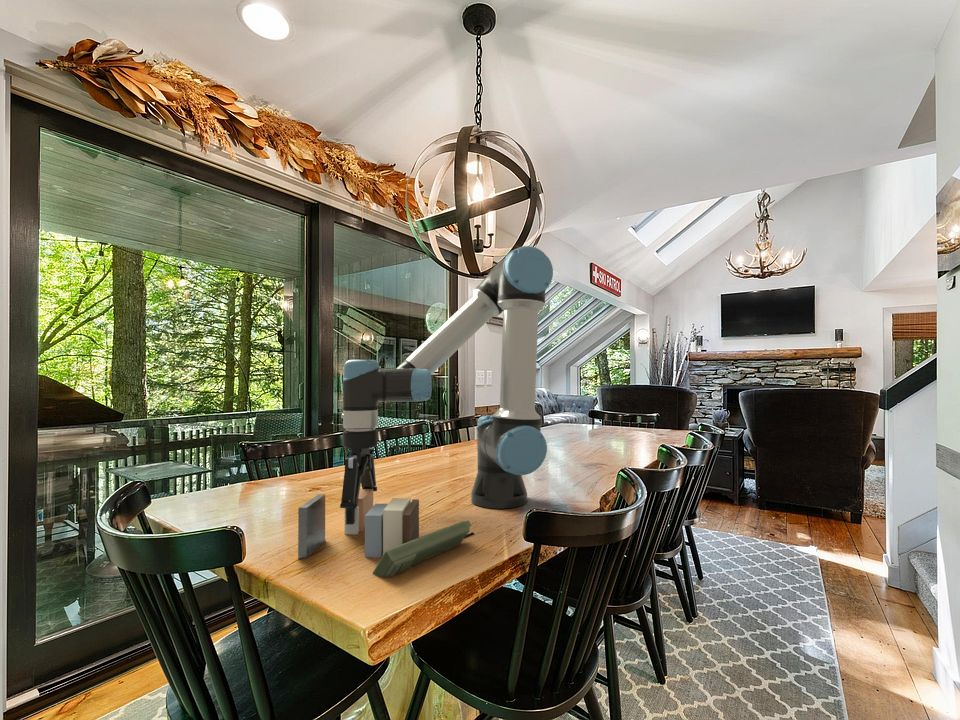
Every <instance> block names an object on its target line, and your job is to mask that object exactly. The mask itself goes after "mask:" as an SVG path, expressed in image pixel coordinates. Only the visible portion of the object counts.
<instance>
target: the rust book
mask: <svg viewBox="0 0 960 720" xmlns="http://www.w3.org/2000/svg"><path fill="white" fill-rule="evenodd" d="M349 501H350V500H349ZM373 506H374V491H373V489H362V488H360V491H359V497H358V503H357V507H359V532H360V531H362V532H363V531H365V515H366V514H367V513H368V512H369V510H370V509H371V508H372V507H373Z"/></svg>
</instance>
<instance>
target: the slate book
mask: <svg viewBox="0 0 960 720" xmlns="http://www.w3.org/2000/svg"><path fill="white" fill-rule="evenodd" d="M388 504H389V503H375V504H373V507H372V508H371V509H370V510H369V512H368V513H367V514H366V515H365V529H364V558H382V556H383V510H384V509H385V508H386V506H387V505H388Z"/></svg>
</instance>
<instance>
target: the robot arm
mask: <svg viewBox="0 0 960 720" xmlns="http://www.w3.org/2000/svg"><path fill="white" fill-rule="evenodd" d="M553 277H554V268H553V264H552V261H551V260H550V258H549V257H548V256H547V255H546V253H545V252H544V251H542V250H541V249H540V248H538V247H535V246H530V245H525V246H523V245H522V246H520V247H516V248H515V249H512V250H510V251H509V252H508V253H507V254H506V256H505V257H503V258H502V259H501V260H500V261H498V262H497V264H495V265H494V266H493V268H492V269H491V270H490V271H489V273H488V274H487V275H486V277H485V278H484V279H483V280H482V281H481V282H480V284H478V285H477V286H476V287H475V288H474V289H473V291H472V297H470V298H469V299H468V300H467V301H466V302H465V303H464V304H462V306H460V308H459V309H458V310H456V311H455V312H454V314H452V315H451V316H450V317H449V318H448V319H447V320H446V321H445V322H444V323H442V325H441V326H440V327H438V328H437V329H436V330H435V331H434V332H433V333H432V334H431V335H430V336H429V337H428V338H426V340H425V341H424V342H423V343H422V344H420V345H419V346H418V347H417V348H416V349H415V350H414V351H413V352H412V353H411V354H410V355H409V356H408V357H407V358H406V359H405V360H403V361H402V363H400V364H399V365H398V366H397V367H396V368H380V366H379V362H378V361H377V360H376V359H348V360H346V362H345V363H343V375H342V376H343V377H342V378H343V379H342V410H343V411H342V414H340V418H341V419H342V420H343V421H342V427H343V428H344V429H345V430H343V432H342V447H343V448H344V449H349V450H350V456H349V457H345V459H344V471H343V474H344V475H343V483H342V492H341V500H340V504H339V508H340V509H344V535H358V534H359V532H360V531H359V507H357V503H358V497H359V491H360V489H373V492H377V491H378V486H377V480H376V469H375V454H374V453H375V450H374V448H375V447H377V446H378V444H379V442H378V439H379V438H378V437H379V436H378V435H379V431H378V429H376V428H377V427H379V406H378V405H379V402H382V403H383V402H384V403H386V402H397V403H398V402H399V403H401V402H414V403H417V402H425V401H429V400H430V398H431V396H432V392H433V391H432V389H433V388H432V387H433V382H432V375H433V374H434V373H435V372H436V371H437V370H438V369H439V368H440V367H442V365H444V364H445V362H447V360H449V359H450V358H451V356H453V355H454V354H455V353H456V352H457V351H458V350H459V349H460V348H461V347H462V346H463V345H464V344H465V343H466V342H467V341H469V339H470V338H471V337H473V336H474V335H475V334H476V333H477V332H478V331H479V330H480V329H481V328H482V327H483V326H484V325H485V324H487V322H488V321H489V320H491V319H492V318H493V317H494V318H495V317H497V318H498V317H499V315H501V314H502V334H501V335H502V336H501V337H502V339H501V364H500V383H499V384H500V388H499V389H500V391H499V408H498V409H497V410H496V411H495V412H494V413H493V414H492V415H482V416H480V417H479V418H478V419H477V426H476V433H477V435H476V436H477V438H476V440H477V443H476V444H477V445H476V446H477V449H476V451H477V473H476V477H475V480H474V483H473V486H472V489H471V495H470V497H471V499H470V500H471V503H472V504H474V505H476V506H478V507H482V508H488V509H501V510H502V509H512V508H517V507H521V506H524V505H526V504H527V503H528V491H527V488H526V485H525V481H524V479H523V476H526V475H530V474H532V473H534V472H536V471H537V470H538V469H539V468H540V467H541V466H542V465H543V463H544V461H545V459H546V457H547V454H548V453H547V451H548V443H547V440H546V438H545V436H544V435H543V433H542V432H541V426H542V417H541V415H540V414H539V413H538V412H537V411H536V391H537V390H536V386H537V385H536V384H537V383H536V382H537V363H538V362H537V358H538V357H537V356H538V333H539V332H538V329H539V312H540V311H541V310H542V309H543V308H544V307H545V306H546V290H547V288H549V286H550V284H551V282H552V280H553ZM502 312H503V313H502ZM349 500H350V501H349Z"/></svg>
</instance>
